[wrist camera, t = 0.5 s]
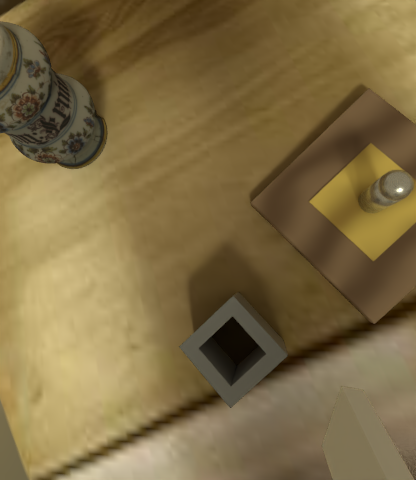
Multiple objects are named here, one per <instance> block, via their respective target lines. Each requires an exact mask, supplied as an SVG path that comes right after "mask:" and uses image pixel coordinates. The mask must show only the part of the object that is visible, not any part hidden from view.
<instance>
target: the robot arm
mask: <svg viewBox="0 0 416 480" xmlns="http://www.w3.org/2000/svg"><path fill="white" fill-rule="evenodd" d="M322 448H323V451H324V454H325V458H326V461H327V464H328V467H329V470H330V473H331V477H332V480H414V478H413V476H412V475H411V473H410V471H409V469H408V468H407V466H406V464H405V462H404V461H403V459H402V457H401V455H400V454H399V452H398V450H397V448H396V447H395V445H394V443H393V441H392V439H391V438H390V436H389V434H388V432H387V431H386V429H385V427H384V425H383V424H382V422H381V420H380V418H379V417H378V415H377V413H376V411H375V410H374V408H373V406H372V404H371V403H370V401H369V399H368V397H367V396H366V394H365V392H364V390H361V389H355V388H349V387H343V386H341V389H340V392H339V395H338V398H337V401H336V404H335V407H334V410H333V413H332V416H331V419H330V422H329V425H328V428H327V431H326V434H325V437H324V441H323V444H322Z"/></svg>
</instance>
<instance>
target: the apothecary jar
mask: <svg viewBox="0 0 416 480" xmlns="http://www.w3.org/2000/svg"><path fill="white" fill-rule="evenodd" d="M0 133H6V134H7V135H9V136H10V139H11V141H12V142H13V144H14V145H15V147H16V148H17V149H18V150H19V151H20V152H21V153H22V154H23V155H25V156H26V157H28V158H30V159H32V160H34V161H37V162H41V163H57V164H59V165H60V166H62V167H65V168H69V169H78V168H82V167H85V166H87V165H89V164H90V163H92V162H93V161H94V160H95V159H96V158H97V157H98V156H99V155H100V154H101V152H102V150H103V148H104V146H105V144H106V139H107V128H106V124H105V121H104V119H103V118H101V117H99V116H97V115H96V110H95V109H94V105H93V101H92V99H91V97H90V95H89V93H88V91H87V90H86V89H85V87H84V86H83V85H82V84H81V83H79V82H78V81H77V80H75V79H73V78H71V77H69V76H66V75H63V74H56V73H55V72H54V71H53V70H52V69H51V63H50V60H49V57H48V54H47V52H46V50H45V48H44V47H43V45H42V44H41V42H40V41H39V40H38V39H37V38H36V37H35V36H34V35H33V34H32V33H31V32H29V31H28V30H26V29H24V28H23V27H21V26H18V25H15V24H12V23H8V22H0Z"/></svg>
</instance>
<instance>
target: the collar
mask: <svg viewBox="0 0 416 480" xmlns="http://www.w3.org/2000/svg"><path fill="white" fill-rule="evenodd" d="M232 316H233V317H234V318H235V319H236V321H237V322H238V323H239V324H240V325H241V326H242V327H243V328H244V329H245V331H246V332H247V333H248V334H249V335H250V336H251V337H252V338H253V339H254V341H255V342H256V343H257V344H258V345H259V346H258V347H257V348H256V349H255V350H253V351H252V352H251V353H250V354H249V355H248V356H247V357H246V358H245V359H244V360H243V361H242V362H241V363H239V364H238V365H237V366H236V364H235V363H234V362H233V361H232V360H231V359H230V357H229V356H228V355H227V354H226V353H225V352H224V351H223V349H222V348H221V347H220V346H219V345H218V344H217V342H216V341H215V340H214V339H213V338H212V337H211V336H212V335H213V334H214V333H215V332H216V331H217V330H218V329H220V328H221V327H222V326H223V325H224V324H225V323H226V322H227V321H228V320H229V319H230V318H231V317H232ZM179 347H180V348H181V350H182V351H183V352H184V353H185V354H186V356H187V357H188V358H189V359H190V360H191V362H192V363H193V364H194V365H195V366H196V368H197V369H198V370H199V371H200V372H201V374H202V375H203V376H204V377H205V378H206V380H207V381H208V382H209V383H210V384H211V386H212V387H213V388H214V389H215V390H216V392H217V393H218V394H219V395H220V396H221V398H222V399H223V400H224V401H225V402H226V404H227V405H228V406H229V407H230V408H231V407H232V406H233V405H235V404H236V403H237V402H238V401H239V400H240V399H241V398H242V397H243V396H244V395H245V394H247V393H248V392H249V391H250V390H251V389H252V388H253V387H254V386H255V385H256V384H257V383H259V382H260V381H261V380H262V379H263V378H264V377H265V376H266V375H267V374H268V373H269V372H271V371H272V370H273V369H274V368H275V367H276V366H277V365H278V364H279V363H280V362H281V361H283V360H284V359H285V358H286V357H287V356H288V354H287V350H286V347H285V344H284V340H283V339H282V338H281V337H280V336H279V335H278V334H277V333H276V332H275V331H274V329H273V328H272V327H271V326H270V325H269V324H268V323H267V322H266V321H265V320H264V319H263V318H262V317H261V315H260V314H259V313H258V312H257V311H256V310H255V309H254V308H253V307H252V306H251V305H250V304H249V303H248V301H247V300H246V299H245V298H244V297H243V296H242V295H241V294H240V293H239V292H237V293H236V294H235V295H233V296H232V297H231V298H230V299H229V300H228V301H227V302H226V303H225V304H224V305H223V306H222V307H221V308H220V309H219V310H217V311H216V312H215V313H214V314H213V315H212V316H211V317H210V318H209V319H208V320H207V321H206V322H205V323H204V324H203V325H202V326H201V327H200V328H198V329H197V330H196V331H195V332H194V333H193V334H192V335H191V336H190V337H189V338H188V339H187V340H186V341H185V342H184V343H183V344H182V345H180V346H179Z"/></svg>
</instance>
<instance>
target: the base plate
mask: <svg viewBox="0 0 416 480" xmlns="http://www.w3.org/2000/svg"><path fill="white" fill-rule="evenodd" d="M392 170H403V171H405V172H407V173H409V174H410V175H411V176H412V178H413V181H414V187H413V190H412V192H411V193H410V195H409V196H407V197H406V198H405V199H403V200H401V201H399V202H397V203H395V204H393V205H391V206H389V207H387V208H386V209H384V210H382V211H380V212H378V213H367V212H365V211H364V210H362V209H361V207H360V206H359V201H358V200H359V196H360V194H361V193H362V192H363V191H364V190H366V189H367V188H368V187H369V186H370V185H372V184H373V183H374V182H375V181H377V180H378V179H379V178H380V177H381V176H383V175H384V174H385V173H387V172H389V171H392ZM251 205H252V206H253V207H254V208H255V209H256V210H257V211H258V212H259V213H260V214H261V215H262V216H263V217H264V218H265V219H266V220H267V221H268V222H269V223H270V224H271V225H272V226H273V227H274V228H275V229H276V230H277V231H278V232H279V233H280V234H281V235H282V236H283V237H284V238H285V239H286V240H287V241H288V242H289V243H290V244H291V245H292V246H293V247H294V248H295V249H296V250H297V251H298V252H299V253H300V254H301V255H302V256H303V257H305V258H306V259H307V260H308V261H309V262H310V263H311V264H312V265H313V266H314V267H315V268H316V269H317V270H318V271H319V272H320V273H321V274H322V275H323V276H324V277H325V278H326V279H327V280H328V281H329V282H330V283H331V284H332V285H333V286H334V287H335V288H336V289H337V290H338V291H339V292H340V293H341V294H342V295H343V296H344V297H345V298H346V299H347V300H348V301H349V302H350V303H351V304H352V305H353V306H354V307H355V308H356V309H357V310H358V311H359V312H361V313H362V314H363V315H364V316H365V317H366V318H367V319H368V320H369V321H370V322H372V323H374V324H375V323H376V322H377V321H378V320H379V319H380V318H382V317H383V316H384V315H385V314H386V313H387V312H388V311H389V310H390V309H392V308H393V307H394V306H395V305H396V304H397V303H398V302H399V301H400V300H401V299H403V298H404V297H405V296H406V295H407V294H408V293H409V292H410V291H411V290H413V289H414V288H415V287H416V125H415V124H414V123H413V122H411V121H410V120H409V119H408V118H406V117H405V116H404V115H403V114H401V113H400V112H399V111H397V110H396V109H395V108H394V107H392V106H391V105H390V104H388V103H387V102H386V101H385V100H383V99H382V98H381V97H380V96H378V95H377V94H376V93H374V92H373V91H372V90H371V89H368V90H367V91H365V92H364V93H363V94H362V95H361V96H360V97H359V98H358V99H357V100H356V101H355V102H354V103H353V104H352V105H351V106H350V107H349V108H348V109H347V110H346V111H345V112H344V113H343V114H342V115H341V116H340V117H339V118H338V119H336V120H335V121H334V122H333V123H332V124H331V125H330V126H329V127H328V128H327V129H326V130H325V131H324V132H323V133H322V134H321V135H320V136H319V137H318V138H317V139H316V140H315V141H314V142H313V143H312V144H311V145H310V146H309V147H307V148H306V149H305V150H304V151H303V152H302V153H301V154H300V155H299V156H298V157H297V158H296V159H295V160H294V161H293V162H292V163H291V164H290V165H289V166H288V167H287V168H286V169H285V170H284V171H283V172H282V173H281V174H280V175H278V176H277V177H276V178H275V179H274V180H273V181H272V182H271V183H270V184H269V185H268V186H267V187H266V188H265V189H264V190H263V191H262V192H261V193H260V194H259V195H258V196H257V197H256V198H255V199H254V200H253V201H252V202H251Z"/></svg>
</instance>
